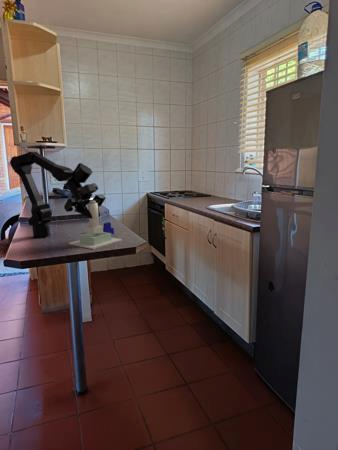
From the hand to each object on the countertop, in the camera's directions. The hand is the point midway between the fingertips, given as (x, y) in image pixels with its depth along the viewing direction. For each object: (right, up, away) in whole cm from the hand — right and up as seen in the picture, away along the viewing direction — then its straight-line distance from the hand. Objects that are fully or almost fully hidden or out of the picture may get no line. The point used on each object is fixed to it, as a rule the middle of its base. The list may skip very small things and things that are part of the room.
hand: (95, 217), depth 129 cm
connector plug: (-1, -6, +2) cm, 7 cm away
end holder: (-1, -11, +3) cm, 11 cm away
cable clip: (-2, -8, +21) cm, 23 cm away
